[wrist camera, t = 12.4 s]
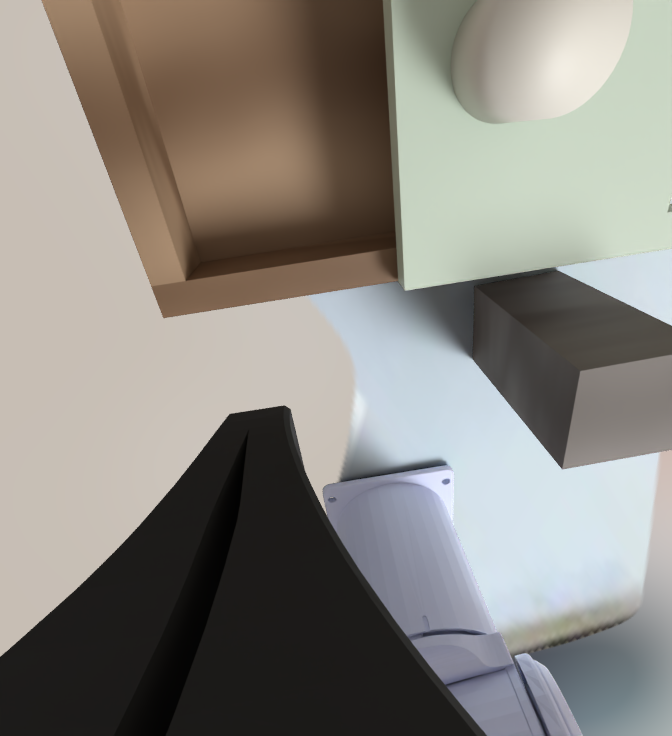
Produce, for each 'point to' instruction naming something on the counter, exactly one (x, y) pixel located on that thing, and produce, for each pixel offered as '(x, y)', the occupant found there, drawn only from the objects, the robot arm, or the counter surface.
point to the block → (576, 367)
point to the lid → (527, 134)
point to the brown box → (241, 141)
